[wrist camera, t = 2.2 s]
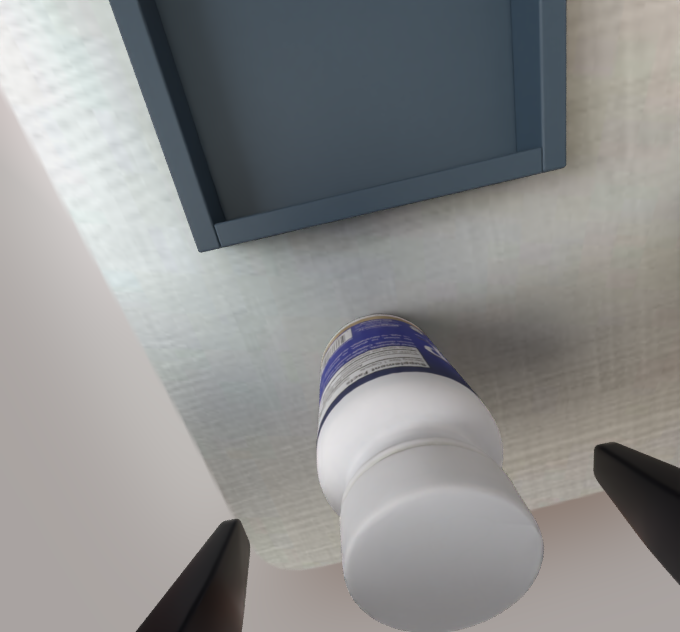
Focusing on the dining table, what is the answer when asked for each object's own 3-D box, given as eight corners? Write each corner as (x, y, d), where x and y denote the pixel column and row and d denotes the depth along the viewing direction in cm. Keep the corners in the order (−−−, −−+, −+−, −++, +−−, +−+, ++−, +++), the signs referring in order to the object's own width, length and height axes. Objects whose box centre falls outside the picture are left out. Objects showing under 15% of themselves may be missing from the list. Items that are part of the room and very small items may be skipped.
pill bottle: (446, 392, 15) (598, 615, 7) (345, 428, 16) (367, 682, 7) (413, 292, 14) (554, 418, 5) (301, 336, 14) (262, 519, 6)
